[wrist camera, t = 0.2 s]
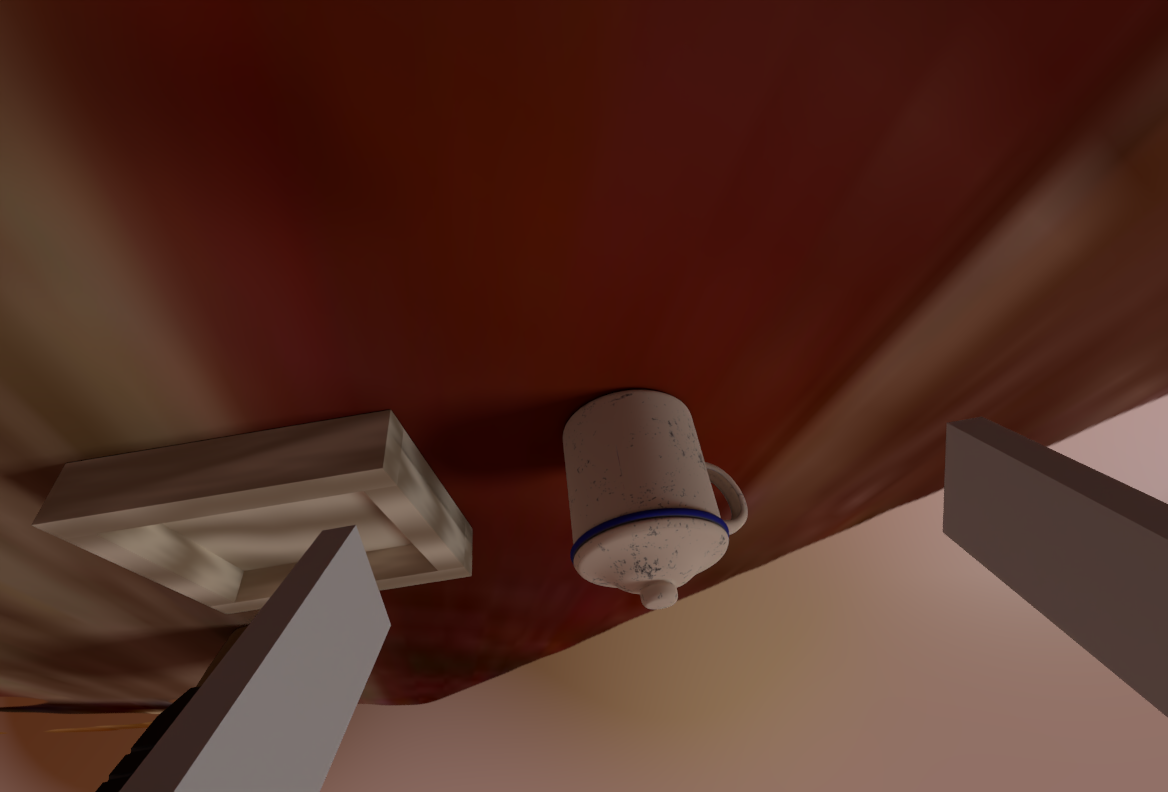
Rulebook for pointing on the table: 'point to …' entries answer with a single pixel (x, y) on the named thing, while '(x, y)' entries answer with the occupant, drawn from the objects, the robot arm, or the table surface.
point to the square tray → (263, 509)
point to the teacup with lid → (644, 496)
